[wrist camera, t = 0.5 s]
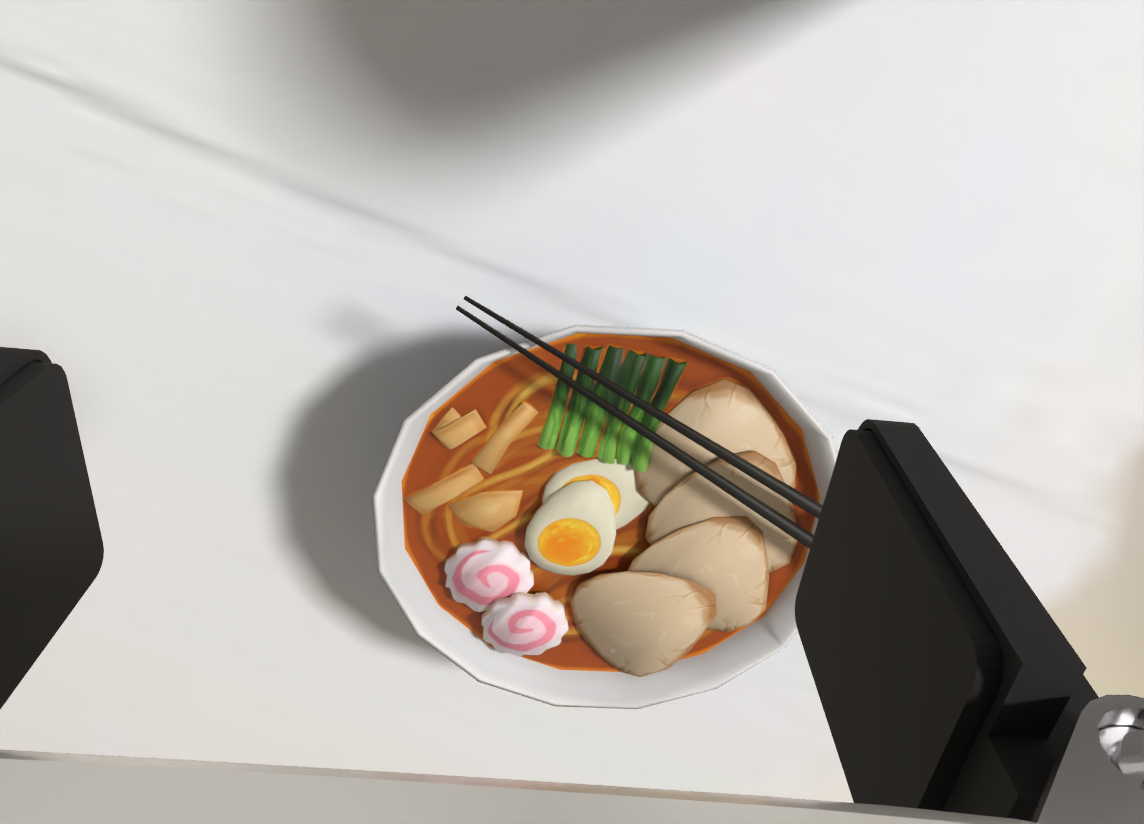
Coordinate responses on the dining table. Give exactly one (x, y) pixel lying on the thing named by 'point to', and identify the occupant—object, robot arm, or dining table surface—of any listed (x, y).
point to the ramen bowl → (603, 515)
